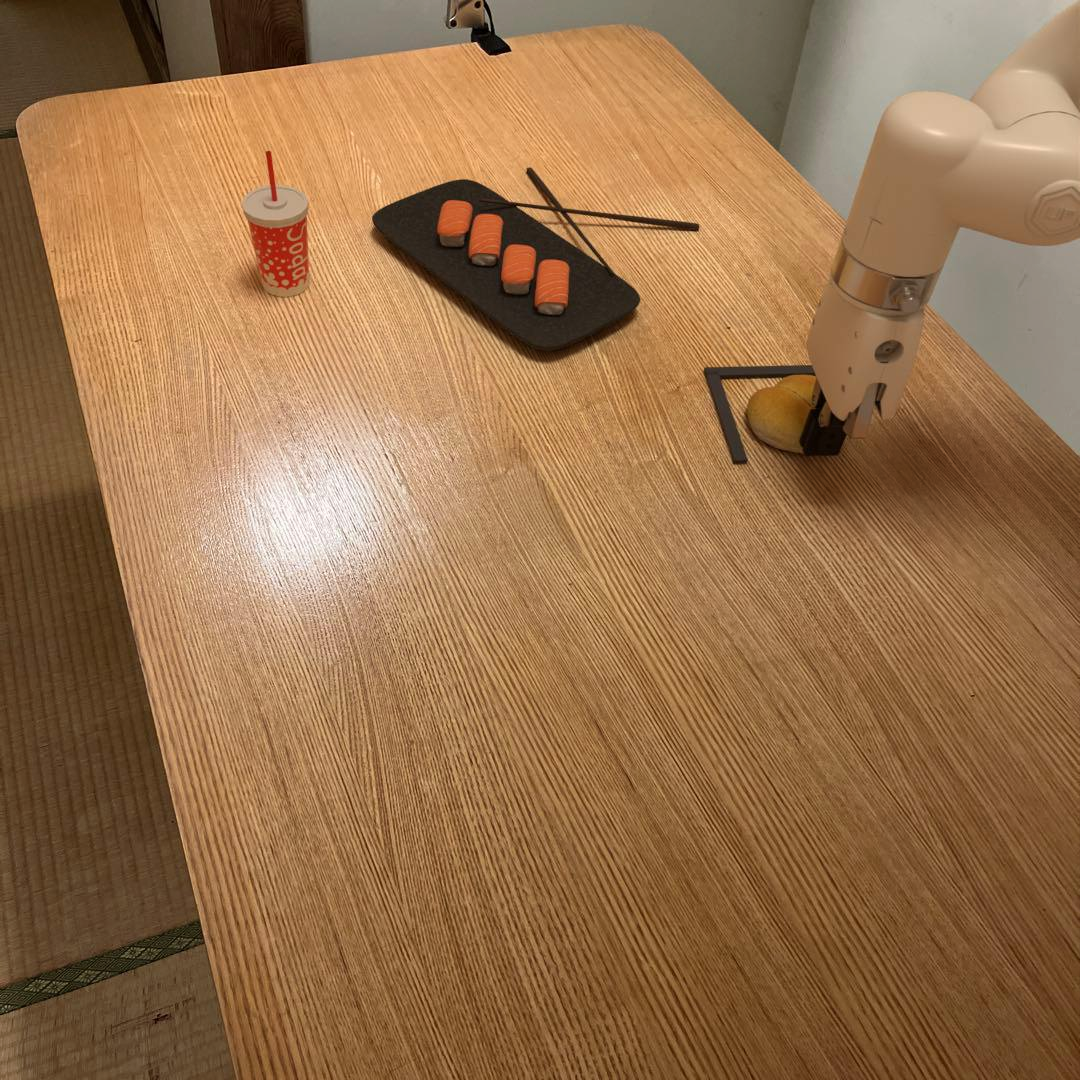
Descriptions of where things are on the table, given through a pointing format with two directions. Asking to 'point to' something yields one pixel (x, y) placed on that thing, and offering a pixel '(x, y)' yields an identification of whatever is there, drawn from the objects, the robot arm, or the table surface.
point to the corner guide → (721, 401)
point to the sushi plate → (512, 260)
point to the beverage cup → (279, 235)
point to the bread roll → (782, 411)
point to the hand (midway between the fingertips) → (818, 449)
